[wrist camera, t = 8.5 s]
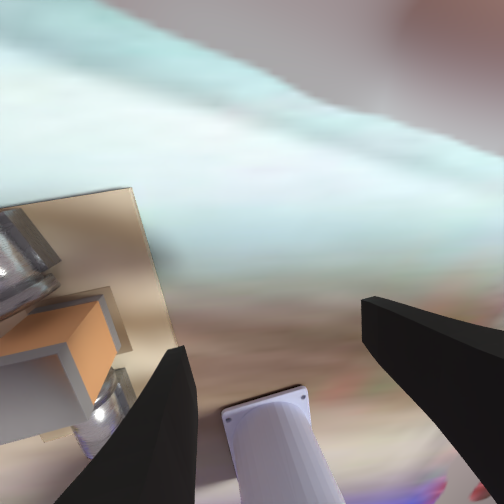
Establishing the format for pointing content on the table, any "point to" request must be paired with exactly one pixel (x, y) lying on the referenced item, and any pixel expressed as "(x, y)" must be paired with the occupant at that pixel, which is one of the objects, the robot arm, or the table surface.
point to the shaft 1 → (23, 264)
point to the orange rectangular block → (54, 367)
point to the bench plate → (105, 276)
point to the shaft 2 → (106, 412)
